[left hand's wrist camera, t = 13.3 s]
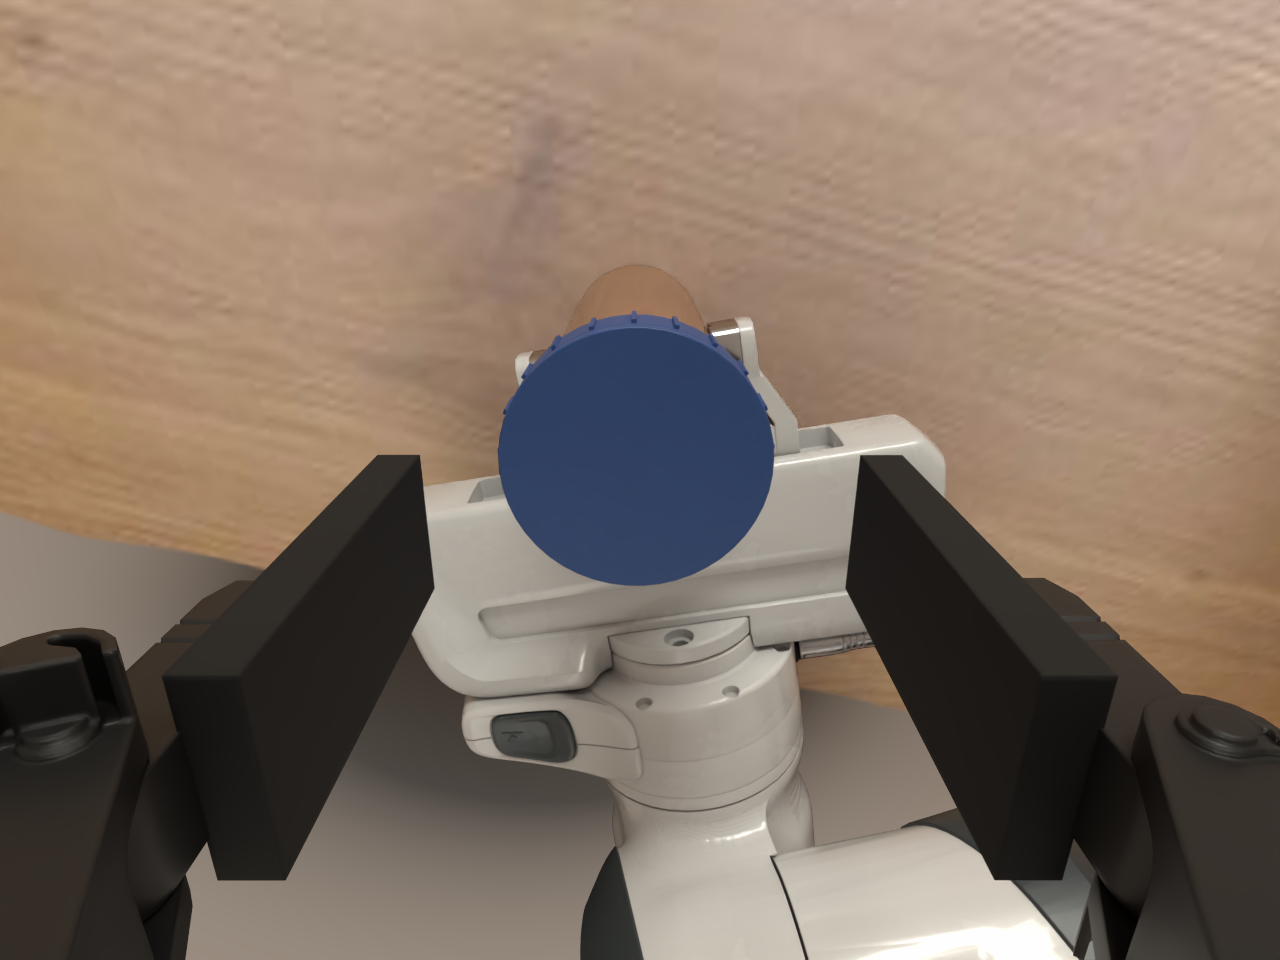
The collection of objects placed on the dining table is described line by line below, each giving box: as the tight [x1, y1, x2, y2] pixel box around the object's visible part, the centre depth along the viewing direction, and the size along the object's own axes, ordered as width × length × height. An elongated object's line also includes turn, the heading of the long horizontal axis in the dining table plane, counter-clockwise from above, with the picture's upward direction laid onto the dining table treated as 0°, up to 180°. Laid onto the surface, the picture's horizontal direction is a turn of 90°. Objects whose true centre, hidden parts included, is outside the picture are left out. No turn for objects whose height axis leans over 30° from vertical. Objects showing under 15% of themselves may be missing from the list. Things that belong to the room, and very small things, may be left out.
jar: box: [564, 265, 709, 335], centre depth 24 cm, size 5×5×16 cm
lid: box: [498, 311, 775, 586], centre depth 17 cm, size 6×6×2 cm
